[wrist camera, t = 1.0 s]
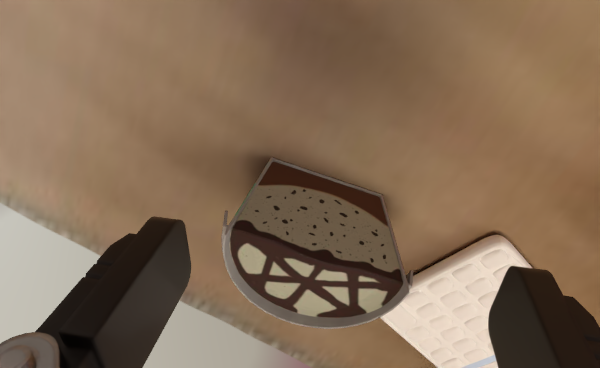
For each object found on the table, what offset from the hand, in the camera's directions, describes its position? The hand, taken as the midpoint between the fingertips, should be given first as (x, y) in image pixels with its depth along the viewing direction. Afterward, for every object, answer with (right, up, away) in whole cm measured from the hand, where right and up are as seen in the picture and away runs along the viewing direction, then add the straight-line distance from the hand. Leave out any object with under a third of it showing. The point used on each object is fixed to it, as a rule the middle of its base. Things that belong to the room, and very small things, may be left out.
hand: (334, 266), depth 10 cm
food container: (0, 0, +23) cm, 23 cm away
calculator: (+17, -11, +28) cm, 35 cm away
